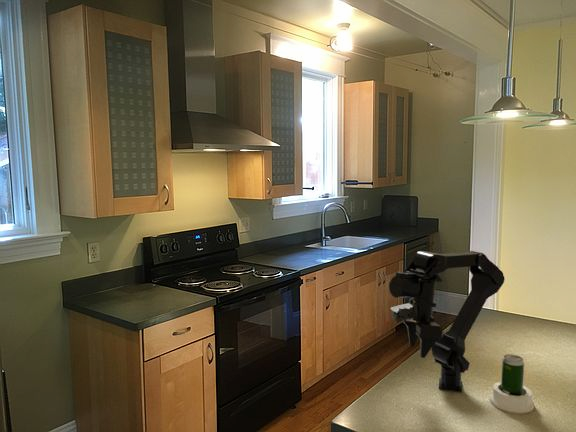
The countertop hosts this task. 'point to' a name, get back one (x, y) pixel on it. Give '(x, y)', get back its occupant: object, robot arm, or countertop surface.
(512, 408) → the can holder
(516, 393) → the beer can
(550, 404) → the countertop surface
